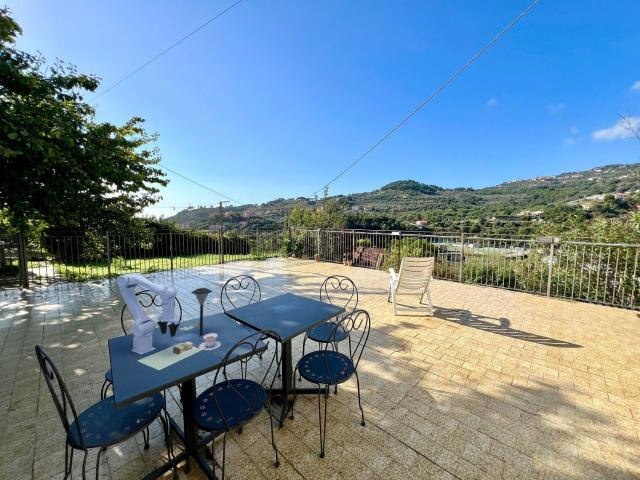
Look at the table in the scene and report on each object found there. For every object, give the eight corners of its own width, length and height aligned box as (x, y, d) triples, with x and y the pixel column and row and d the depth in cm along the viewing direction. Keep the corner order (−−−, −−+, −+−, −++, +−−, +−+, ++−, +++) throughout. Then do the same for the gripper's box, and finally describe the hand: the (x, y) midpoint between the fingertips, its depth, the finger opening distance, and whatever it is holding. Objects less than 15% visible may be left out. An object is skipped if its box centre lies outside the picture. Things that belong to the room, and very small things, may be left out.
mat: (136, 361, 135) (136, 360, 135) (181, 343, 157) (181, 342, 157) (159, 371, 127) (159, 369, 127) (202, 350, 149) (202, 349, 149)
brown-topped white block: (187, 346, 152) (187, 341, 152) (192, 348, 150) (192, 343, 150) (173, 352, 144) (173, 347, 144) (178, 354, 142) (178, 349, 142)
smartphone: (202, 323, 189) (187, 330, 174) (202, 325, 189) (187, 332, 174) (193, 322, 190) (178, 329, 176) (193, 323, 190) (178, 331, 176)
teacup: (212, 352, 148) (213, 341, 148) (194, 349, 150) (194, 338, 150) (224, 343, 160) (225, 333, 160) (207, 340, 162) (207, 330, 162)
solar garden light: (206, 339, 163) (207, 291, 162) (186, 338, 164) (187, 291, 162) (214, 331, 176) (215, 287, 174) (196, 331, 176) (197, 286, 175)
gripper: (152, 310, 143) (152, 334, 143) (170, 314, 136) (170, 340, 137) (165, 307, 149) (165, 330, 150) (182, 310, 143) (182, 335, 143)
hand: (168, 334), depth 144 cm, fingers open, 7 cm apart
